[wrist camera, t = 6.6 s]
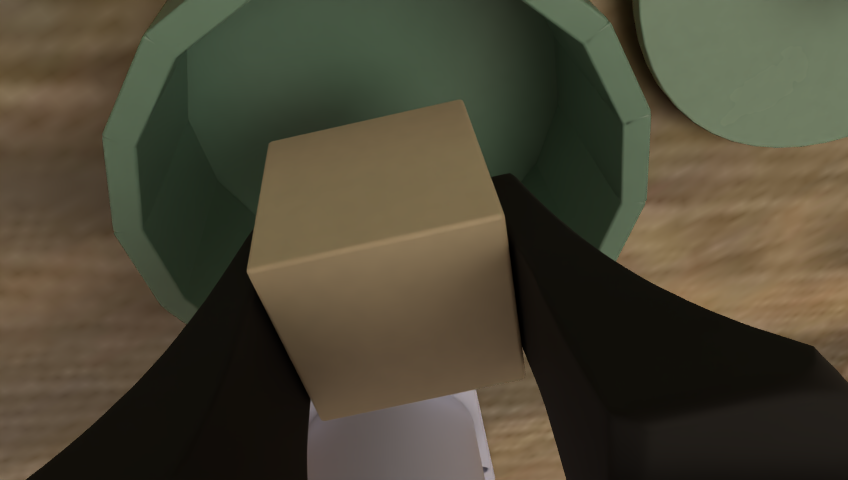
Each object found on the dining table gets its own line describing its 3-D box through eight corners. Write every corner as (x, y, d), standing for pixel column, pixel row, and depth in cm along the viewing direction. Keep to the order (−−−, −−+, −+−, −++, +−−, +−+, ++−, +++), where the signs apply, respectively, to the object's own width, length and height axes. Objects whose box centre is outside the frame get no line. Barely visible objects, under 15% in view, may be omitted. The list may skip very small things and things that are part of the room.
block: (486, 247, 15) (526, 380, 12) (324, 282, 15) (321, 423, 12) (462, 96, 12) (505, 215, 9) (267, 140, 12) (243, 271, 9)
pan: (577, 215, 21) (640, 335, 16) (255, 285, 21) (235, 420, 17) (563, -178, 14) (666, -147, 9) (82, -64, 14) (-30, 17, 10)
